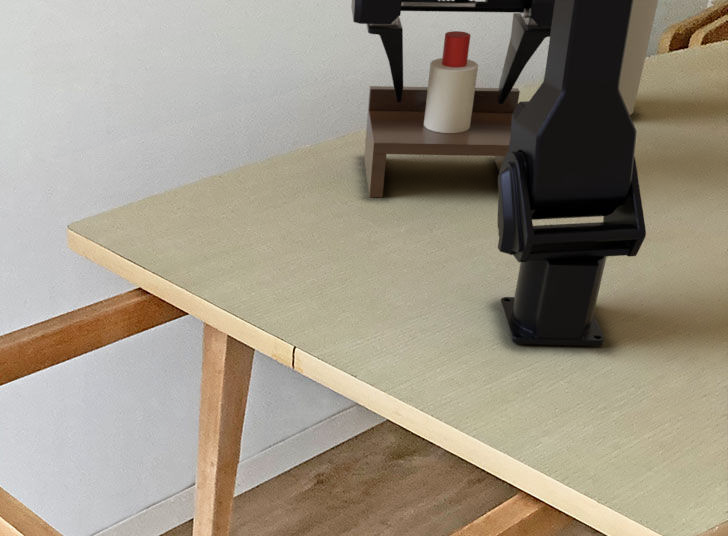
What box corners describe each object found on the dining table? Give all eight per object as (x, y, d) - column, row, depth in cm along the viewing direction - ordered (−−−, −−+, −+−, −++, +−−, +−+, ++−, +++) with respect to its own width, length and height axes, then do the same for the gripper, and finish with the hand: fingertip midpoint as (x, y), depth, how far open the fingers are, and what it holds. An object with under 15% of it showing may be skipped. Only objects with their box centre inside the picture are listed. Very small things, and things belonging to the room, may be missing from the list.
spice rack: (523, 200, 98) (536, 122, 94) (369, 197, 99) (375, 120, 95) (506, 160, 106) (518, 88, 102) (364, 158, 107) (369, 85, 103)
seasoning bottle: (472, 133, 98) (485, 41, 93) (425, 133, 98) (436, 40, 93) (466, 118, 101) (478, 28, 96) (421, 118, 101) (431, 27, 96)
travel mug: (610, 127, 114) (650, -61, 103) (543, 111, 118) (575, -72, 107) (645, 110, 119) (688, -73, 108) (580, 94, 123) (614, -83, 112)
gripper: (568, -106, 95) (537, 77, 104) (355, -108, 96) (343, 74, 105) (595, -84, 86) (559, 114, 95) (361, -86, 87) (347, 111, 96)
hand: (449, 101), depth 98 cm, fingers open, 9 cm apart
